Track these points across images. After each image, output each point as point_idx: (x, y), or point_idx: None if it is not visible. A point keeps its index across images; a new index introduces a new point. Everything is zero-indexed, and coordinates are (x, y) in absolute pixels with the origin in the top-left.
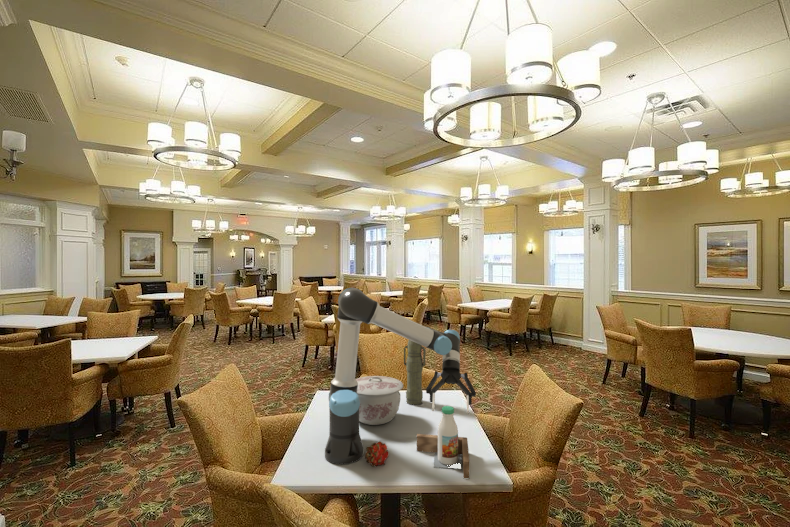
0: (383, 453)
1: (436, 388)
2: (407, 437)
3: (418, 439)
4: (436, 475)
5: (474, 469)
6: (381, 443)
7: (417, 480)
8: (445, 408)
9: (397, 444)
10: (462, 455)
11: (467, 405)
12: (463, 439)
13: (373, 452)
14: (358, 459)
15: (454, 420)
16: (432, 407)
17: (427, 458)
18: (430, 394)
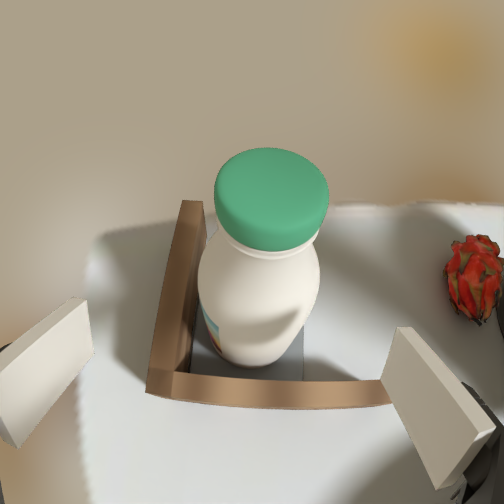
0: (461, 248)
1: (491, 496)
2: (412, 479)
3: None
4: None
5: (159, 284)
6: (486, 264)
7: (342, 221)
8: (296, 172)
9: None
10: (188, 340)
11: (53, 321)
12: (167, 373)
13: (481, 235)
14: (497, 293)
15: (215, 238)
16: (412, 330)
17: (328, 341)
18: (498, 423)
